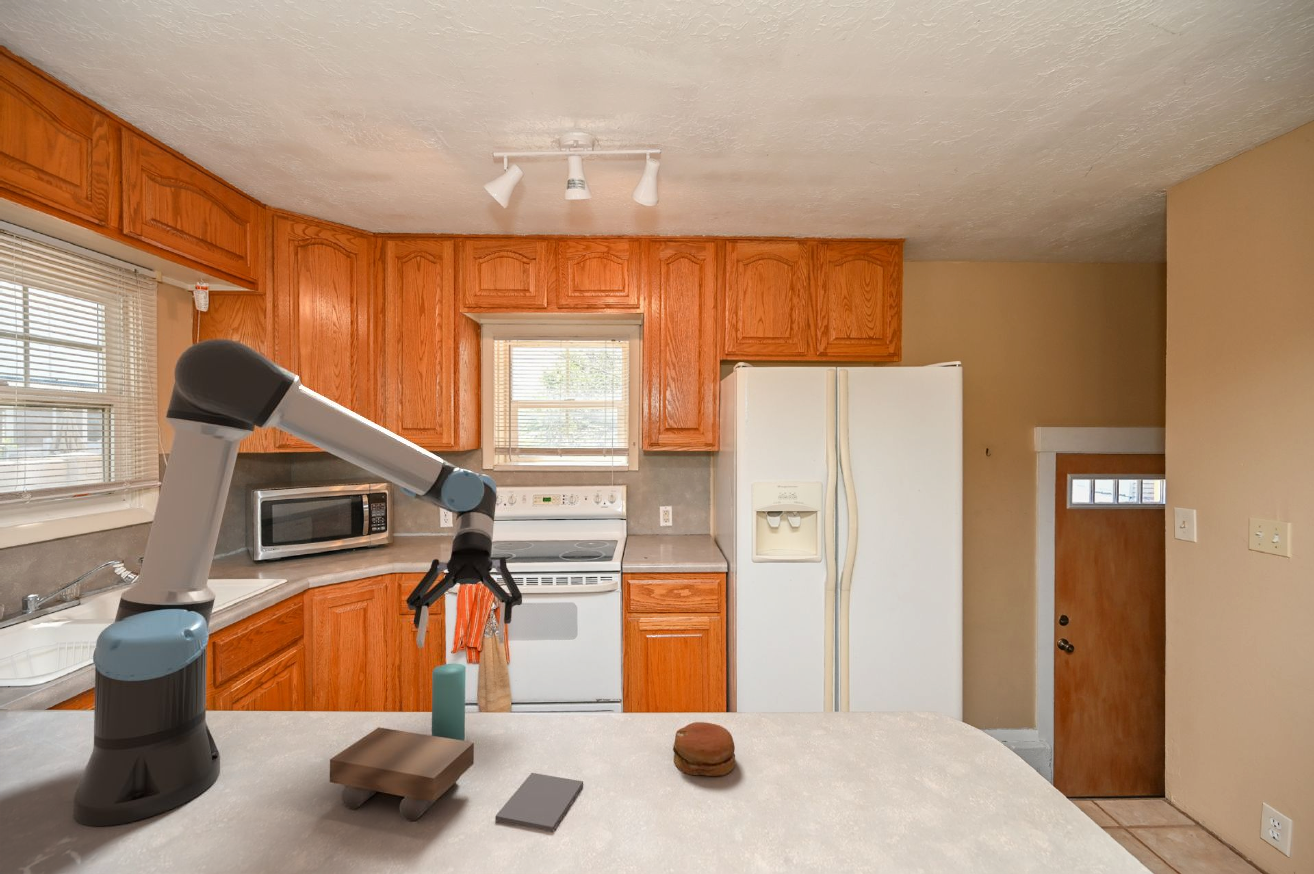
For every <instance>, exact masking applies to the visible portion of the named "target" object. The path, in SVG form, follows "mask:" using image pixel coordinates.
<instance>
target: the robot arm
mask: <svg viewBox="0 0 1314 874" xmlns="http://www.w3.org/2000/svg"><path fill="white" fill-rule="evenodd" d="M174 367H175V368H174V384H173V387H172V391H171V396H170V401H169V404H168V408H167V412H166V416H165V421H166V422H167V423H168V424H169V425H170V427H171V428H172V429H173V431H174V434H173V439H172V443H171V447H170V451H169V455H168V459H167V463H166V467H165V471H164V476H163V479H162V483H161V487H160V491H159V496H158V499H157V504H156V507H155V512H154V516H153V519H152V524H151V526H150V527H151V528H150V531H149V535H148V540H147V544H146V547H145V551H144V556H143V561H142V564H141V568H140V571H139V576H138V580H137V583H136V584H134V585H132V586H131V587H130V588H128V589H127V590H125V591H123V592H122V593H121V596H120V599H119V603H118V607H117V610H116V615H115V619H114V622H113V623H112V624H110V625H108V626H107V627H106V628H104V629H103V630H101V631H100V633H99V635H98V636H97V639H96V642H95V648H94V652H93V655H92V661H93V662H92V663H93V665H94V671H95V672H94V709H93V710H94V711H93V712H94V713H93V716H94V717H93V748H92V751H91V755H90V757H89V759H88V762H87V764H86V767H85V769H84V772H83V774H82V777H81V780H80V783H79V785H78V787H77V789H76V790H75V793H74V797H73V817H74V819H75V821H77V822H78V823H79V824H82V825H87V826H93V827H94V826H95V827H98V826H99V827H101V826H103V827H104V826H114V825H115V826H116V825H121V824H126V823H131V822H136V821H139V820H143V819H147V818H151V817H153V816H156V815H159V814H162V813H164V812H167V811H170V810H172V809H174V808H175V809H176V807H179V806H181V805H183V804H186V803H187V802H189V801H190V800H193V799H194V798H196V797H198V796H199V795H201V794H202V793H203V792H205V791H206V790H208V789H209V788H210V787H212V785H213V784H215V782H216V781H217V780H218V778H219V776H220V773H221V756H220V755H221V754H220V752H219V750H218V747H217V745H216V742H215V739H214V738H213V736H212V733H211V731H210V729H209V726H208V724H207V720H206V715H207V712H206V711H207V667H208V666H207V663H208V662H207V661H208V660H207V658H208V654H207V652H208V651H207V650H208V644H209V636H210V634H209V626H210V622H211V618H212V613H213V608H214V604H215V599H216V593H215V592H214V591H213V590H212V589H211V588H210V587H209V586H208V581H209V576H210V571H211V569H212V563H213V559H214V554H215V550H216V546H217V542H218V538H219V533H220V530H221V526H222V520H223V516H224V512H225V507H226V504H227V500H228V496H229V490H230V487H231V481H232V478H233V474H234V470H235V465H236V460H237V458H238V453H239V448H240V444H241V442H242V441H243V440H244V439H246V438H248V437H250V436H251V435H253V434H254V431H255V428H256V427H258V428H261V429H263V430H264V429H268V428H276V429H278V430H280V431H282V432H284V433H287V434H289V435H291V436H293V437H295V438H297V439H299V440H301V441H304V442H306V443H308V444H310V445H312V446H314V447H317V448H318V449H321V450H323V451H325V452H327V453H329V454H331V455H334V456H335V457H338V458H340V459H342V460H345V461H346V462H348V463H350V464H352V465H355V466H358V467H359V468H361V469H364V470H366V471H368V472H370V473H371V474H374V475H376V476H378V477H380V478H383V479H384V480H387V481H389V482H392V483H393V484H395V485H397V486H399V487H400V490H401V492H402V493H403V494H405V495H407V496H409V497H412V498H413V499H414V500H415V499H416V500H419V501H422V502H423V503H427V504H429V505H431V506H434V507H437V508H440V509H443V510H445V511H447V512H450V513H452V514H455V515H456V518H455V526H454V533H453V541H452V546H451V552H450V553H451V554H450V559H449V560H448V561H447V562H445V561H444V562H443V561H441V562H440V560H439V559H437V558H435V559H433V560H432V561H431V565H430V569H429V570H428V571H427V572H426V574H425V575H424V576H423V578H422V579H420V581H419V583H418V584H417V585H416V587H415V588H414V589H413V591H412V592H411V593H410V595H408V597H407V598H406V600H405V601H406V605H407V608H408V610H409V611H413V610H414V617H413V624H414V627H415V629H418V630H417V635H416V638H415V641H416V644H417V647H418V648H419V649H421V648H423V649H424V645H425V639H426V633H427V628H428V627H427V626H428V621H429V615H430V613H429V608H430V607H431V606H432V605H433V604H435V602H436V601H437V600H439V599H440V598H441V597H442V596H444V594H445V593H447V592H448V591H449V590H450V589H453V588H454V587H455V586H456V585H457V584H459V585H460V586H465V585H468V584H469V585H477V584H479V583H481V584H482V585H483V586H484V587H486V588H487V589H488V591H490V592H491V593H492V594H493V595H494V596H495V598H497V600H498V601H499V602H500V612H499V621H498V622H499V623H498V624H499V625H498V626H499V627H498V637H497V638H498V642H499V644H504V643H505V641H504V640H505V626H506V625H508V624H511V623H512V618H513V617H512V614H513V607H514V606H521V605H522V604H523V595H522V593H521V591H520V589H519V587H518V585H517V583H516V581H515V579H514V578H513V576H512V574H511V573H510V570H509V569H508V567H507V558H506V557H504V556H503V557H500V558H499V560H492V548H493V542H492V541H493V539H494V538H493V537H494V525H495V522H494V521H495V514H496V504H497V500H498V498H497V484H496V482H495V480H494V479H493V478H492V477H491V476H490V475H487V474H483V473H482V474H479V473H476V472H474V471H471V470H469V469H467V468H461V467H458V466H457V465H455V464H453V463H451V462H449V461H447V460H446V459H442V458H441V457H439V456H437V455H436V454H434V453H432V452H430V451H428V450H426V449H425V448H422V447H420V446H419V445H417V444H415V443H413V442H411V441H409V440H407V439H405V438H403V437H401V436H399V435H397V434H396V433H393V432H392V431H390V430H388V429H386V428H384V427H382V426H381V425H378V424H376V423H375V422H373V421H371V420H369V419H367V418H365V417H363V416H361V415H360V414H357V413H356V412H354V411H352V410H350V409H348V408H346V407H344V406H342V405H341V404H339V403H336V402H335V401H333V400H330V399H329V398H327V397H324V395H321V394H319V393H317V392H315V391H314V390H312V389H310V388H308V387H306V386H304V385H303V384H302V382H301V379H300V377H299V375H298V374H295V373H293V372H292V371H290V370H287V369H286V368H284V367H282V366H281V365H279V364H277V363H276V362H274V361H273V360H271V359H269V358H267V357H266V356H264V355H263V354H261V353H259V352H258V351H257V350H256V349H253V348H251V347H250V346H248V345H247V344H244V343H241V342H240V341H235V340H232V339H226V338H225V339H224V338H213V339H206V340H202V341H200V342H196V343H194V344H193V345H191V346H190V347H188V348H187V349H186V350H184V351H183V352H182V353H181V355H180V356H179V358H178V359H177V361H176V364H175V366H174ZM493 569H495V571H496V572H498V573H500V575H501V576H500V577H501V578H502V580H503V583H504V584H505V586H506V588H507V590H508V591H509V593H510V595H509V594H508V592H507V591H505V589H504V588H503V587H502V586H501V585H500V584H499V583H498V582H497V581H496V580H495V579H494V578H493V576H491V574H490V572H491V571H492V570H493ZM444 571H447V573H446V574H445V575H444V577H443V578H442V579H441V580H439V581H438V583H437V584H436V585H434V583H435V582H436V581H437V579H438V577H439V575H443V572H444ZM433 585H434V586H433ZM432 586H433V587H432ZM430 588H431V589H430Z"/></svg>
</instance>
